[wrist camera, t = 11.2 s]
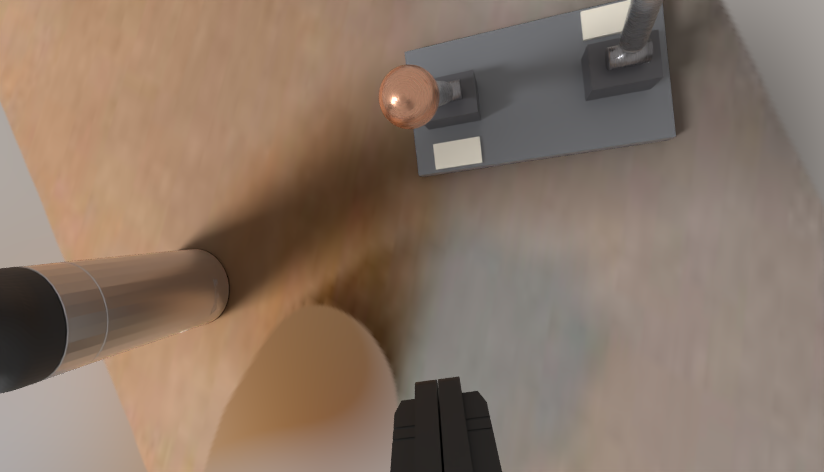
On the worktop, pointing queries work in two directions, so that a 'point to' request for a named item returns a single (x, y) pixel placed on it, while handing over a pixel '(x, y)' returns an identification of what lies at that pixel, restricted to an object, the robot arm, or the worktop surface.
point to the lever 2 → (635, 36)
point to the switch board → (543, 93)
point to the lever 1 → (414, 96)
